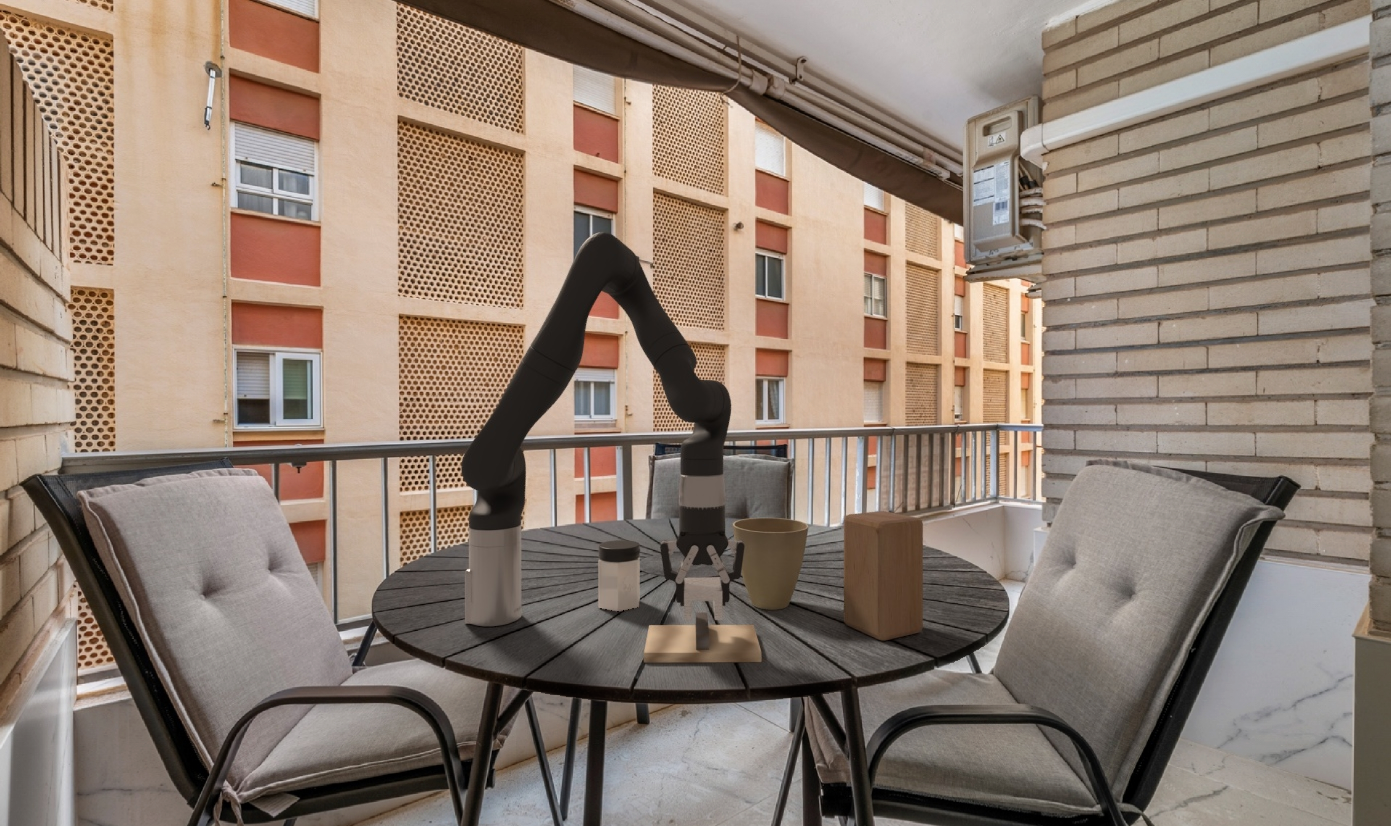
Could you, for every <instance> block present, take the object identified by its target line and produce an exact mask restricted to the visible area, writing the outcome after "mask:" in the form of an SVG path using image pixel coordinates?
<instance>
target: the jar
mask: <svg viewBox="0 0 1391 826" xmlns="http://www.w3.org/2000/svg"><path fill="white" fill-rule="evenodd" d="M640 545H641V544H640V543H639V542H637V541H634V540H627V539H625V540H624V539H623V540H621V539H619V540H618V539H617V540H609V541H608V540H607V541H604V542H602V543H599V545H598V562H597V563H598V564H597V566H598V568H597V569H598V571H597V572H598V573H597V574H598V580H597V581H598V586H597V587H598V598H597V599H598V600H597V601H598V603H597V604H598V609H600V608H602V609H601V610H605V609H607V611H611V610H612V612H617V611H619V612H623V610H624V611H628V609H629V610H633V609H632V608H634V609H638V608H639V606H640V601H641V600H640V596H641V595H640V584H641V583H640V577H641V576H640V570H641V569H640V557H641V555H640V554H641V546H640ZM637 607H638V608H637Z"/></svg>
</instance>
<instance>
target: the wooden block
mask: <svg viewBox="0 0 1391 826" xmlns="http://www.w3.org/2000/svg"><path fill="white" fill-rule="evenodd" d="M923 553H924V522H923V520H922V519H920V518H918V517H915V516H911V515H906V514H901V513H894V512H890V511H885V510H878V511H877V510H876V511H871V512H870V511H869V512H860V513H859V512H857V513H850V514H846V515H845V516H844V518H843V621H844V624H845V625H846V626H848V627H850V628H852V629H855V630H857V631H859V632H861V633H863V634H866V635H868V636H870V637H872V638H874V639H876V640H879V641H883V642H884V641H888V640H893V639H897V638H901V637H904V636H905V637H907V636H909V635H910V636H911V635H913V634H919V633H921V632H922V631H923V628H924V624H923V623H924V621H923V620H924V617H923V616H924V608H923V607H924V605H923V604H924V602H923V601H924V597H923V596H924V593H923V592H924V582H923V581H924V575H923V574H924V565H923V564H924V554H923Z"/></svg>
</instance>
